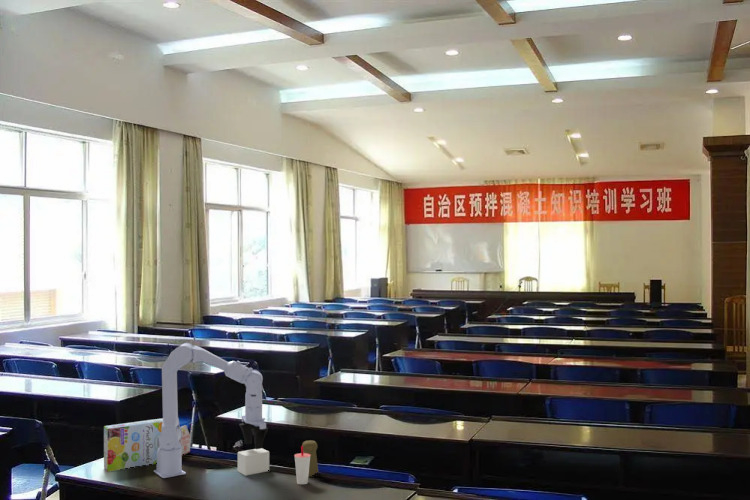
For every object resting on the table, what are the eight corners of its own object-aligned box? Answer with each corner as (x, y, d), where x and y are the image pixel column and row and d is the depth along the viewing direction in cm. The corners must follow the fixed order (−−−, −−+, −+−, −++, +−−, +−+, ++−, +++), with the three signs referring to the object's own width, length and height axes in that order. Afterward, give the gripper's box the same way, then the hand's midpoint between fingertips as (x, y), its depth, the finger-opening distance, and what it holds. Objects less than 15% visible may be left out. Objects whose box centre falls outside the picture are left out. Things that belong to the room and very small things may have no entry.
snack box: (164, 458, 251) (164, 417, 251) (168, 462, 246) (169, 420, 246) (103, 468, 239) (103, 425, 239) (107, 472, 234) (107, 428, 234)
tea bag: (171, 455, 254) (171, 428, 255) (181, 451, 261) (181, 424, 261) (180, 456, 253) (180, 429, 254) (190, 451, 260) (190, 425, 260)
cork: (315, 476, 229) (315, 443, 229) (298, 475, 230) (298, 442, 230) (320, 471, 235) (320, 439, 235) (303, 470, 236) (303, 438, 236)
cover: (237, 471, 235) (237, 452, 235) (261, 466, 240) (261, 447, 241) (245, 475, 230) (245, 455, 230) (269, 470, 236) (269, 451, 236)
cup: (295, 486, 219) (295, 448, 220) (292, 481, 225) (293, 444, 225) (312, 484, 221) (312, 447, 221) (309, 479, 226) (309, 443, 226)
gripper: (274, 408, 232) (273, 448, 232) (254, 401, 244) (254, 440, 244) (255, 411, 228) (255, 452, 228) (236, 404, 240) (236, 443, 240)
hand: (253, 446), depth 236 cm, fingers open, 7 cm apart
